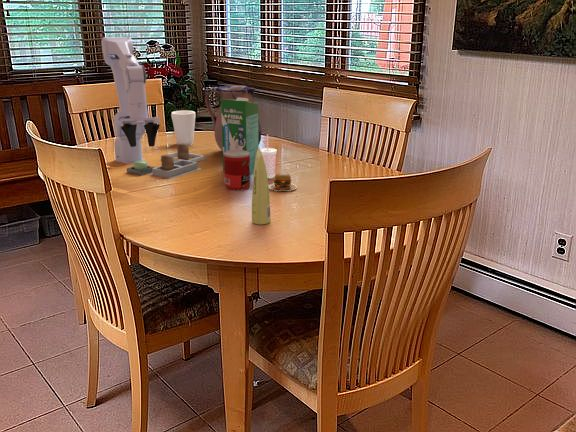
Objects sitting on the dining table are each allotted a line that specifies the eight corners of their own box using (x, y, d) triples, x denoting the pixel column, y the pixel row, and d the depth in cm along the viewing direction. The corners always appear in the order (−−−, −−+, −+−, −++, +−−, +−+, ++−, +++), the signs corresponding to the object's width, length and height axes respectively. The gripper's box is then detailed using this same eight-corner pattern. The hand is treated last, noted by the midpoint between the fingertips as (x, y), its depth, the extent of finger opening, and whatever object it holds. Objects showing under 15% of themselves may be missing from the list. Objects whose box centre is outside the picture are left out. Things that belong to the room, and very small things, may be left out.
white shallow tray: (161, 162, 208) (161, 156, 207) (179, 156, 215) (179, 151, 215) (187, 167, 201) (187, 161, 201) (205, 161, 209) (205, 155, 208)
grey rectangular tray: (148, 176, 190) (148, 168, 189) (180, 167, 202) (179, 158, 200) (171, 181, 185) (170, 172, 184) (202, 171, 196) (201, 162, 195)
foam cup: (169, 145, 232) (167, 113, 228) (179, 141, 240) (177, 109, 236) (190, 147, 230) (188, 115, 225) (200, 142, 238) (199, 111, 233)
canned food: (246, 191, 176) (246, 156, 172) (221, 189, 177) (220, 154, 173) (253, 184, 183) (252, 150, 179) (228, 182, 184) (227, 149, 180)
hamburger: (259, 194, 175) (259, 177, 173) (267, 183, 186) (267, 167, 184) (298, 197, 173) (299, 179, 171) (303, 185, 184) (304, 169, 182)
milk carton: (259, 169, 199) (258, 96, 190) (246, 176, 191) (245, 100, 183) (236, 166, 202) (234, 94, 194) (223, 173, 195) (220, 98, 186)
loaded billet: (159, 174, 189) (158, 156, 187) (168, 171, 193) (167, 153, 190) (168, 175, 187) (167, 157, 185) (177, 173, 190) (176, 155, 188)
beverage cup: (260, 179, 188) (260, 137, 183) (256, 174, 193) (256, 133, 188) (278, 178, 189) (279, 136, 184) (274, 173, 195) (274, 132, 190)
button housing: (127, 175, 191) (126, 168, 190) (141, 171, 196) (141, 164, 195) (141, 178, 188) (140, 171, 187) (155, 174, 193) (154, 167, 192)
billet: (175, 160, 208) (174, 144, 205) (183, 158, 211) (182, 142, 209) (183, 162, 205) (182, 145, 203) (191, 159, 209) (190, 143, 207)
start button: (131, 171, 191) (130, 162, 190) (141, 168, 194) (140, 159, 193) (140, 173, 189) (140, 164, 188) (150, 170, 192) (149, 161, 191)
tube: (245, 221, 151) (244, 148, 144) (259, 216, 154) (258, 145, 148) (261, 226, 147) (261, 152, 141) (275, 221, 151) (274, 148, 144)
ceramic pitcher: (259, 159, 213) (259, 90, 204) (202, 158, 213) (199, 90, 204) (262, 148, 229) (262, 84, 220) (209, 147, 229) (207, 83, 221)
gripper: (111, 105, 185) (116, 148, 188) (147, 103, 179) (152, 147, 182) (126, 104, 192) (131, 145, 195) (161, 102, 186) (166, 145, 188)
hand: (142, 146), depth 189 cm, fingers open, 7 cm apart
